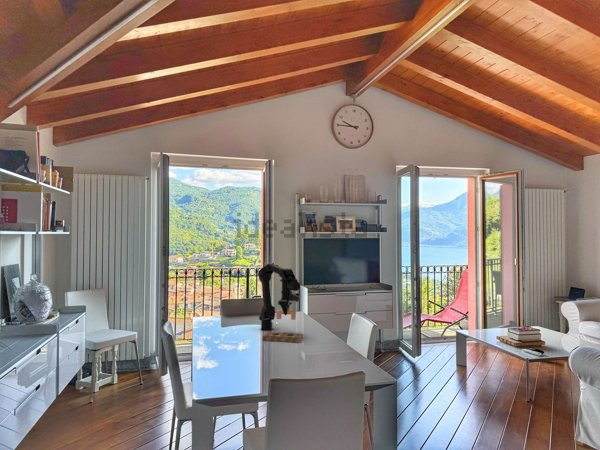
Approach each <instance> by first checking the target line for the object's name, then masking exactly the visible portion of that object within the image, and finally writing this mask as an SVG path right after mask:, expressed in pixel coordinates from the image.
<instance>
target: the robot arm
mask: <svg viewBox="0 0 600 450" xmlns="http://www.w3.org/2000/svg"><path fill="white" fill-rule="evenodd" d="M273 273H275V274H277V275H278V276H279V277H280V278H281V279H280V280H279V282H281V291H280V293H281V297H280V300H278V305H279V306H280V307H281V310H283V312H284V314H283V315H284V316H288V315H287V310H290V306H291V305H292V304H293V302H297V303H298V302H299V301H300V298H301V295H300V293H299V292H297V291H299V290H300V289H301V284H300V282H299V280H298V279H297V278H296V276H295V274H294V272H293V269H292V268H285V267H281V266H279V265H276V264H274V263H267V264H266V265H264V266H263V267H262V268H260V269H259V271H258V273H257V275H258V279H259V281H260V283H261V289H262V299H263V306H262V308H261V313H260V315H259V317H258V320H259V321H260V322H261V323H260V324H261V325H260V326H261V327H260V331H267V332H271V330H273V322H272V321H274V320H275V316H276V307H275V306H274V305H273V304H272V298H271V297H272V296H271V285H270V282H271V279H272V275H273ZM293 291H294V292H295V291H296V292H297V293H293ZM278 305H277V306H278Z"/></svg>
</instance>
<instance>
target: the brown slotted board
mask: <svg viewBox="0 0 600 450" xmlns="http://www.w3.org/2000/svg"><path fill="white" fill-rule="evenodd" d="M303 339H304V333H297V332H296V333H295V332H277V331H276V332H275V331H266V332H265V333H264V334H263V335H262V341H263V342H264V341H265V342H276V343H277V342H278V343H279V342H280V343H294V344H295V343H296V344H300V343H301V342H302V341H303Z"/></svg>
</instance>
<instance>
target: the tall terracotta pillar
mask: <svg viewBox="0 0 600 450" xmlns="http://www.w3.org/2000/svg"><path fill="white" fill-rule="evenodd" d="M275 315H276V320H281V319H282V315H284V312H283V310H282V309H280V310H279V309H277V310H275ZM288 315H290V320H296V319H297V318H296V317H297V310H291V309H289V310H287V315H286V316H288Z"/></svg>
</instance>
